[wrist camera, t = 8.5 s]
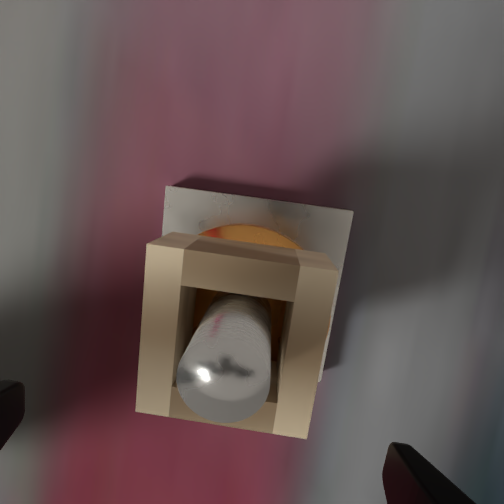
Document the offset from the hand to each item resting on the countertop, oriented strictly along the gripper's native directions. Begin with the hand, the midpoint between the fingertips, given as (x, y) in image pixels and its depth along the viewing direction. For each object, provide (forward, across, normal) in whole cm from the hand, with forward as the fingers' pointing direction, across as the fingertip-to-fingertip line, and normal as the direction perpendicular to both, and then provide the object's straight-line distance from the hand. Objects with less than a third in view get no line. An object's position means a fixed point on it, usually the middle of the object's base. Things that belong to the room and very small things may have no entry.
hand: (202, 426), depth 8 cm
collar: (+7, 0, 0) cm, 7 cm away
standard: (+12, 0, 0) cm, 12 cm away
